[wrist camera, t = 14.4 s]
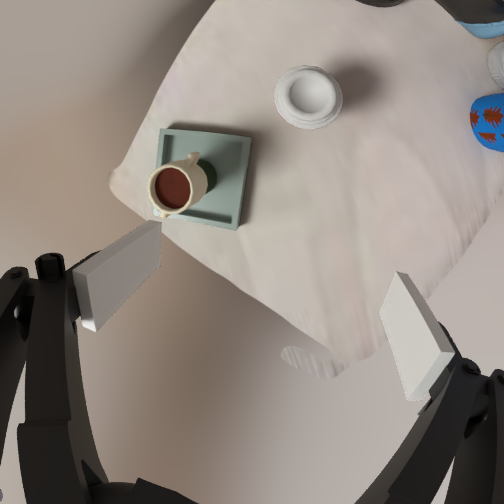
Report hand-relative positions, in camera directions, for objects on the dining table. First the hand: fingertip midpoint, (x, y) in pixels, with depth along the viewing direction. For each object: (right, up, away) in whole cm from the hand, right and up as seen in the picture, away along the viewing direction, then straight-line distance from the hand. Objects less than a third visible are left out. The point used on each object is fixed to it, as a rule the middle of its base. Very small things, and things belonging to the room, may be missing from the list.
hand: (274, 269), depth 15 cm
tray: (-10, +14, +34) cm, 38 cm away
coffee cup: (+8, +25, +27) cm, 37 cm away
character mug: (-10, +14, +33) cm, 38 cm away
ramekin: (+49, +38, +14) cm, 64 cm away
